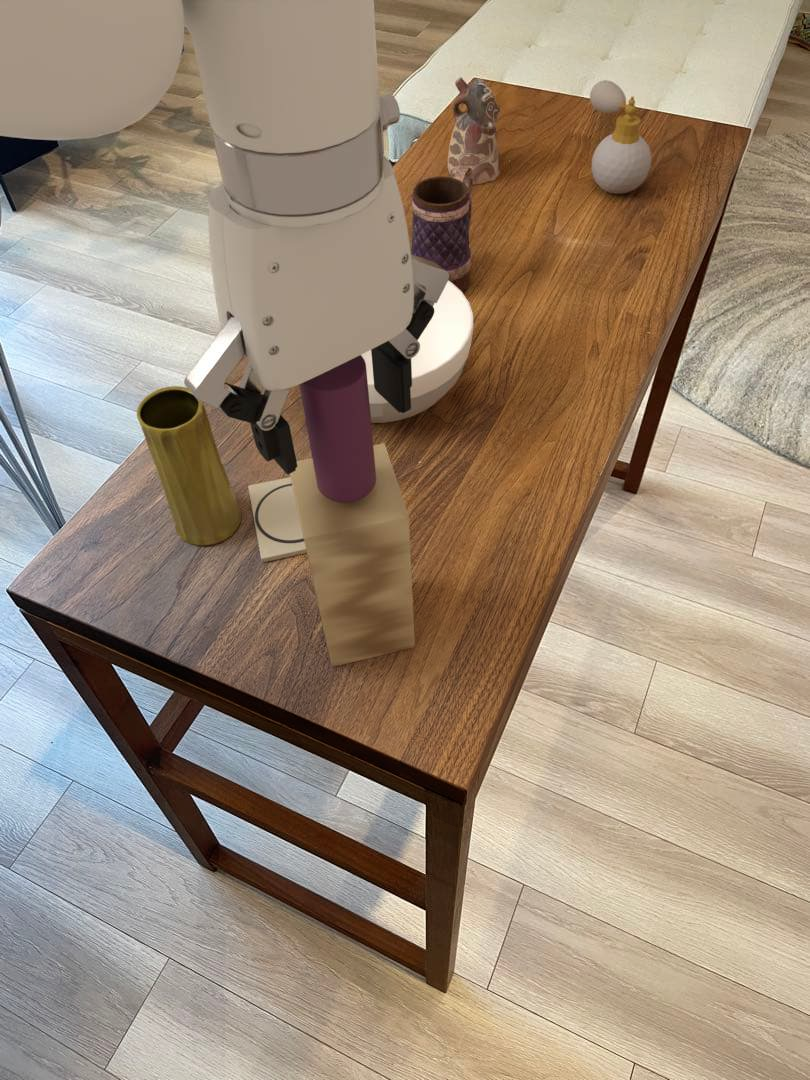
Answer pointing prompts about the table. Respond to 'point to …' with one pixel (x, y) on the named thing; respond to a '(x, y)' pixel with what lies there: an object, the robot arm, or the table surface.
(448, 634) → the table surface
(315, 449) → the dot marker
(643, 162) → the perfume bottle
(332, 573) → the stand
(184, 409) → the vase
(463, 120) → the figurine
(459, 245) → the mug
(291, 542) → the sketch card
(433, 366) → the bowl
